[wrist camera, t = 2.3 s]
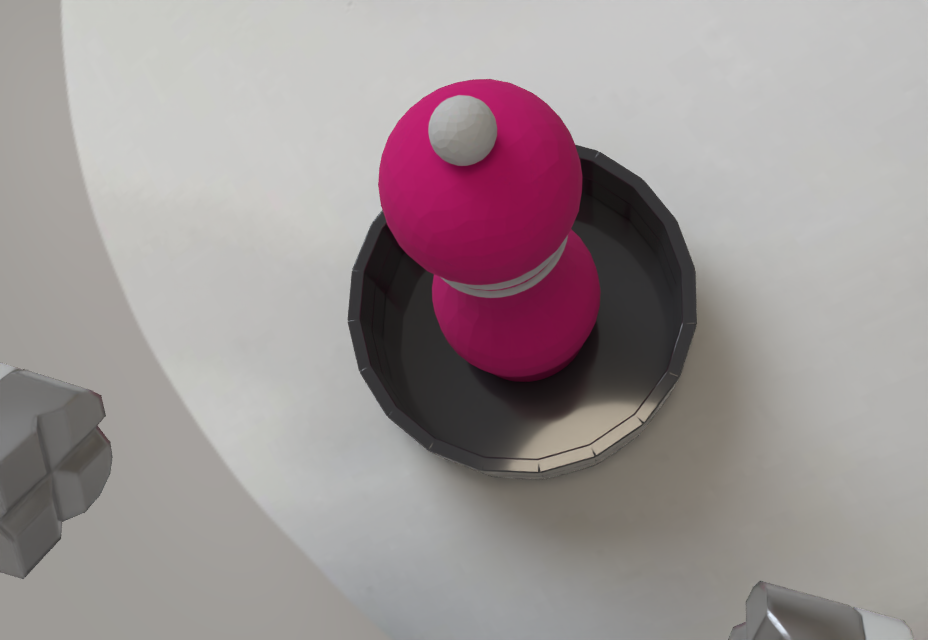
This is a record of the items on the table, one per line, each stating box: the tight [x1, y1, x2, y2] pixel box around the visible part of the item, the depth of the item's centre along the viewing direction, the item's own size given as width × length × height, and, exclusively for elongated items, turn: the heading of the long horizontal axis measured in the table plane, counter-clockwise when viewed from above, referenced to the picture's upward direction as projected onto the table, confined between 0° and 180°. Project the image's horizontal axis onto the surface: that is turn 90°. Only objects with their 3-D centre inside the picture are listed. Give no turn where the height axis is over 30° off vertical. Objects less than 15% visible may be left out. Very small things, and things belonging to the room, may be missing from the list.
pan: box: [348, 145, 697, 479], centre depth 37 cm, size 15×15×4 cm
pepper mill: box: [378, 79, 601, 382], centre depth 29 cm, size 7×7×20 cm
